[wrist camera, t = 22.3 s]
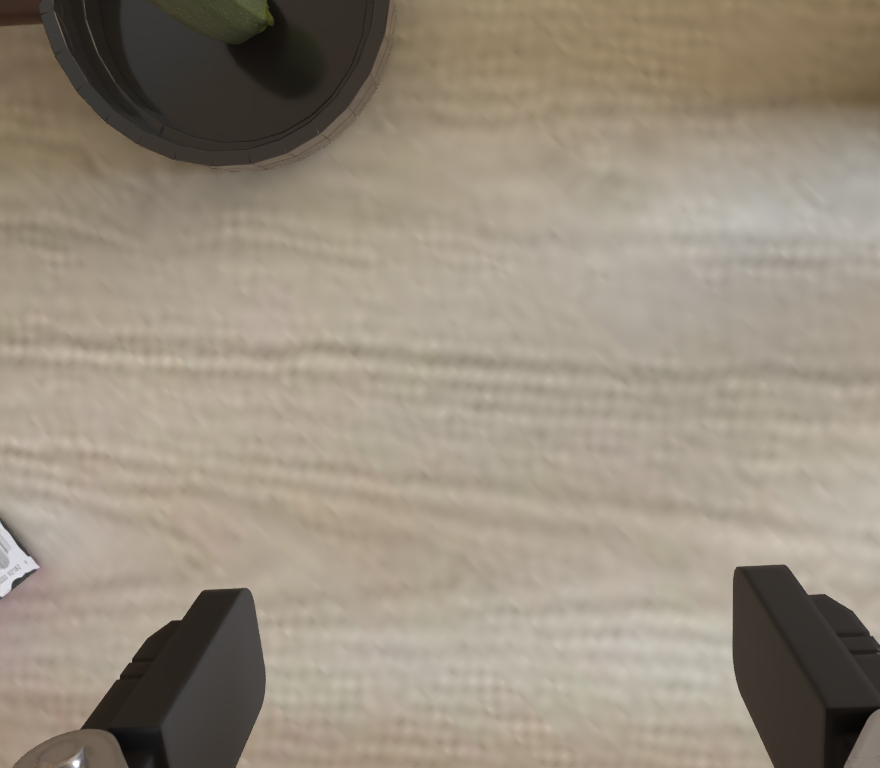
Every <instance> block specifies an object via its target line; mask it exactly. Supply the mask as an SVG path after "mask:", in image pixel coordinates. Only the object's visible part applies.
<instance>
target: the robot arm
mask: <svg viewBox="0 0 880 768" xmlns="http://www.w3.org/2000/svg"><path fill="white" fill-rule="evenodd" d="M733 664H734V671H735V676H736V681H737V685H738V688H739V691H740V694H741V696H742V698H743V700H744V703H745V705H746V707H747V709H748V711H749V713H750V716H751V718H752V720H753V722H754V724H755V726H756V729H757V731H758V733H759V735H760V737H761V739H762V742H763V744H764V746H765V748H766V750H767V752H768V755H769V757H770V759H771V761H772V763H773V765H774V768H880V645H879V644H878V642H877V641H876V640H875V639H874V637H873V636H870V634H869V631H868V630H867V629H866V627H865V626H864V625H863V624H862V622H861V621H860V620H859V619H858V617H857V616H856V615H855V614H854V612H853V611H851V610H850V609H848V608H846V607H845V606H843V605H842V604H840V603H838V602H837V601H835V600H833V599H832V598H830V597H829V596H827V595H825V594H819V595H808V594H807V593H806V592H805V590H804V589H803V587H802V586H801V585H800V583H799V582H798V580H797V579H796V578H795V576H794V575H793V574H792V572H791V571H790V569H789V568H788V567H787V566H786V565H764V566H742V567H736V569H735V571H734V577H733ZM265 683H266V675H265V665H264V659H263V653H262V647H261V641H260V635H259V629H258V623H257V617H256V611H255V605H254V600H253V596H252V594H251V592H250V590H249V589H247V588H237V589H215V590H204V591H202V592H201V593H200V595H199V596H198V597H197V599H196V600H195V602H194V603H193V605H192V606H191V608H190V609H189V610H188V612H187V613H186V615H185V616H184V618H183V619H182V620H176V621H171V622H169V623H168V624H167V625H165V626H164V627H162V628H161V629H160V630H158V631H157V632H156V633H154V634H153V635H151V636H150V637H149V638H147V640H146V641H145V642H144V644H143V645H142V646H141V648H140V649H139V650H138V652H137V653H136V654H135V656H134V657H133V658H132V663H129V664H128V665H127V667H126V668H125V669H124V671H123V672H122V673H121V675H120V680H116V682H115V683H114V684H113V686H112V687H111V688H110V690H109V691H108V692H107V694H106V695H105V696H104V698H103V699H102V701H101V702H100V703H99V705H98V706H97V707H96V709H95V710H94V711H93V713H92V714H91V715H90V717H89V718H88V720H87V721H86V722H85V724H84V725H83V726H82V728H81V729H80V730H75V731H71V732H67V733H64V734H61V735H58V736H55V737H53V738H51V739H49V740H47V741H45V742H43V743H41V744H39V745H37V746H36V747H34V748H33V749H31V750H30V751H28V752H27V753H26V754H25V755H24V756H22V757H21V758H20V759H19V760H18V761H17V762H16V763H15V764H14V766H13V767H12V768H236V765H237V763H238V761H239V758H240V756H241V754H242V751H243V749H244V747H245V744H246V742H247V740H248V738H249V735H250V733H251V731H252V728H253V726H254V724H255V721H256V719H257V717H258V714H259V712H260V710H261V707H262V704H263V700H264V694H265Z"/></svg>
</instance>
